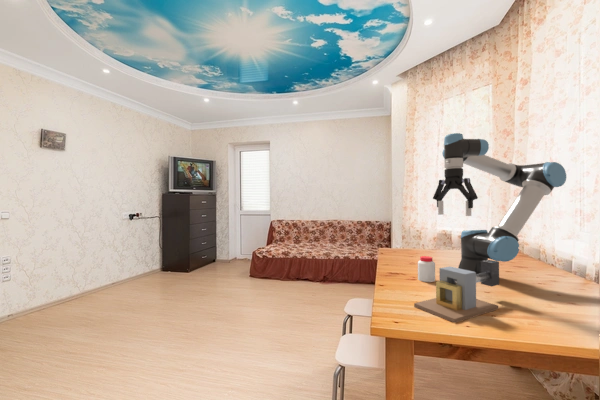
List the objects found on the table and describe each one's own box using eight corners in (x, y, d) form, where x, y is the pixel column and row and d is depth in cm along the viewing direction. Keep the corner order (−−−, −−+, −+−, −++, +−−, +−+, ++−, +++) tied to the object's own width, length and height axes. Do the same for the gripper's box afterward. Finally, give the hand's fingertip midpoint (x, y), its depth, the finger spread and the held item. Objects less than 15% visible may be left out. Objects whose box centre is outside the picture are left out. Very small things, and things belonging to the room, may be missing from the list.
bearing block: (456, 295, 119) (456, 262, 119) (498, 309, 104) (498, 271, 104) (414, 306, 108) (413, 269, 108) (454, 322, 94) (454, 280, 93)
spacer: (441, 302, 109) (441, 280, 109) (462, 309, 101) (462, 286, 101) (436, 303, 107) (436, 281, 107) (456, 310, 100) (456, 287, 100)
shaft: (488, 282, 118) (488, 259, 118) (499, 284, 115) (499, 261, 115) (450, 291, 108) (450, 266, 108) (460, 294, 104) (460, 268, 104)
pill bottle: (437, 282, 138) (436, 259, 138) (419, 281, 139) (419, 258, 139) (433, 278, 145) (432, 255, 145) (416, 277, 147) (416, 255, 147)
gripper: (424, 170, 143) (425, 214, 143) (475, 165, 120) (476, 216, 120) (435, 171, 146) (435, 213, 146) (486, 165, 124) (487, 216, 124)
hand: (454, 215), depth 133 cm, fingers open, 13 cm apart
